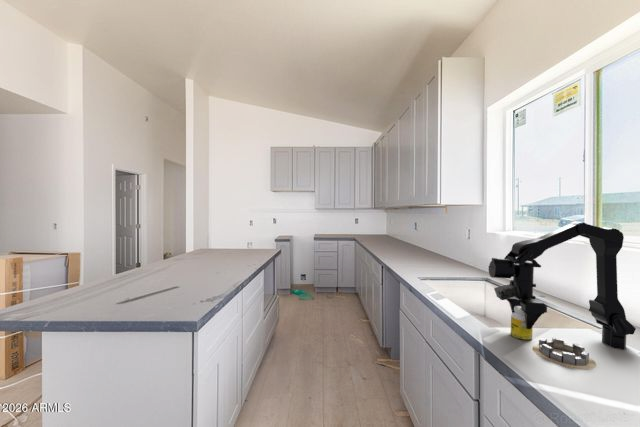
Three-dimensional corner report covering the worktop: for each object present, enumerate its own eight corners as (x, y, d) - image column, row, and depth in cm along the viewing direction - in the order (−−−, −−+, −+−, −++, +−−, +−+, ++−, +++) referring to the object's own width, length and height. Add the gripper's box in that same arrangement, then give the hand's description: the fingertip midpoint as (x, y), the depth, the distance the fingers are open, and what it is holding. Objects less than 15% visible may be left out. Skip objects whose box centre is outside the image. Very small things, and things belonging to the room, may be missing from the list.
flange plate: (527, 343, 99) (527, 340, 99) (584, 353, 93) (585, 350, 93) (538, 364, 86) (538, 361, 86) (606, 378, 79) (606, 374, 79)
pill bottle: (507, 334, 106) (508, 304, 105) (526, 336, 104) (527, 306, 104) (515, 342, 100) (516, 310, 99) (535, 344, 98) (536, 312, 98)
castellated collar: (535, 343, 97) (535, 334, 97) (579, 351, 92) (580, 342, 92) (544, 359, 86) (544, 349, 86) (594, 369, 82) (595, 359, 81)
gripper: (487, 271, 112) (486, 312, 113) (509, 284, 94) (508, 332, 94) (519, 273, 110) (518, 314, 111) (548, 286, 92) (547, 336, 92)
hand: (521, 323), depth 102 cm, fingers open, 9 cm apart
